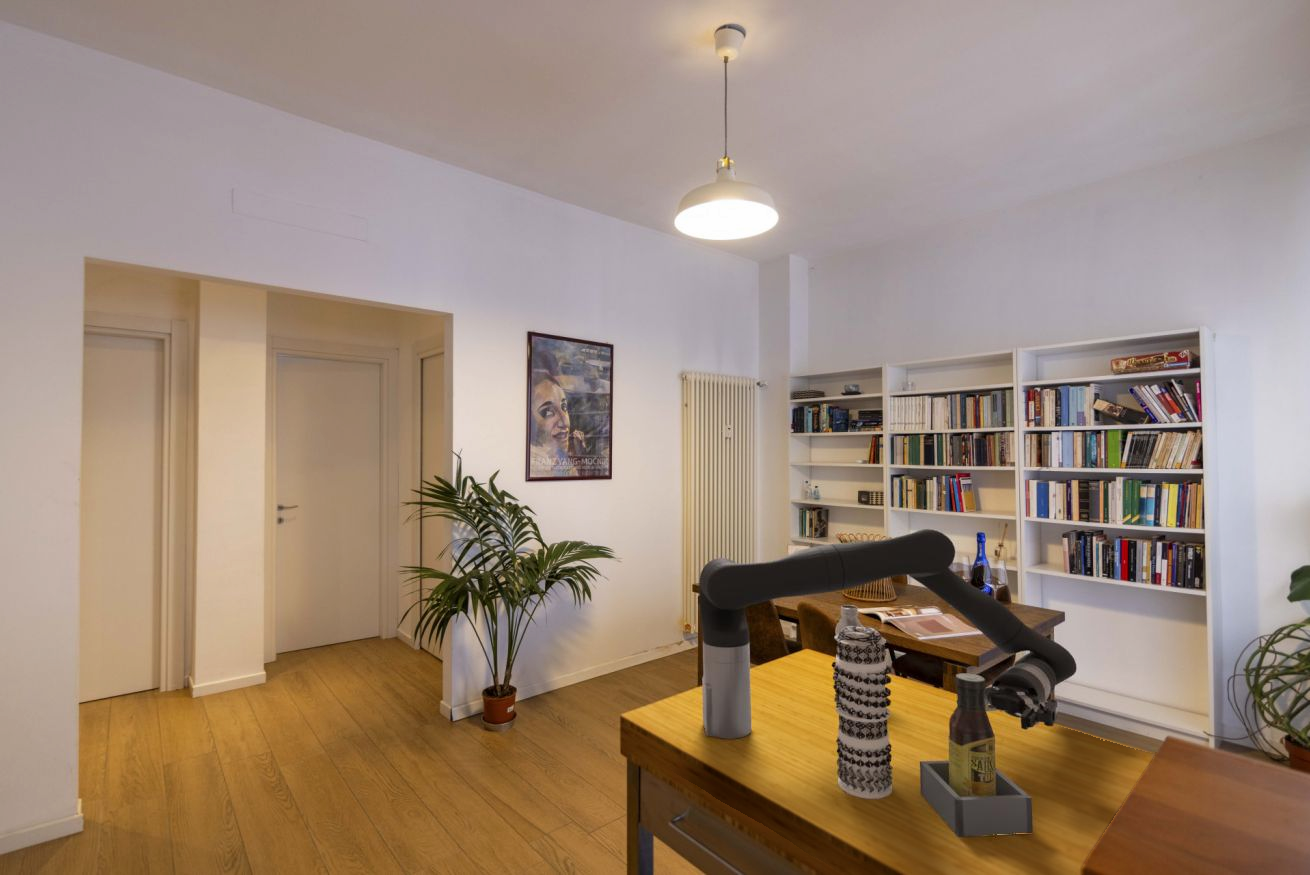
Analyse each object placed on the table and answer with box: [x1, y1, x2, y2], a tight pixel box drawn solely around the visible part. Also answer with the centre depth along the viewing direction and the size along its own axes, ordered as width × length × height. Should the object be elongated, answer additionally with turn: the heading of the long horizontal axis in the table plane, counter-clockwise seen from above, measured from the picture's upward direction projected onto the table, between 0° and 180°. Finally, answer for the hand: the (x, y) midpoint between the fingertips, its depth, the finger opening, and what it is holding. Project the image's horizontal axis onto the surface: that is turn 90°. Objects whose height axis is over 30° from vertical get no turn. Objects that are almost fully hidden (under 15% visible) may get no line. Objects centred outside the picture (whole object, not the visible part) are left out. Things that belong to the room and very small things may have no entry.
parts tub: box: [919, 760, 1034, 838], centre depth 94 cm, size 11×12×5 cm
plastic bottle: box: [834, 604, 863, 688], centre depth 141 cm, size 6×7×20 cm
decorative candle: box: [831, 625, 893, 800], centre depth 103 cm, size 9×9×25 cm
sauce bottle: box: [948, 672, 997, 797], centre depth 94 cm, size 6×6×20 cm
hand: (994, 715), depth 102 cm, fingers open, 8 cm apart
